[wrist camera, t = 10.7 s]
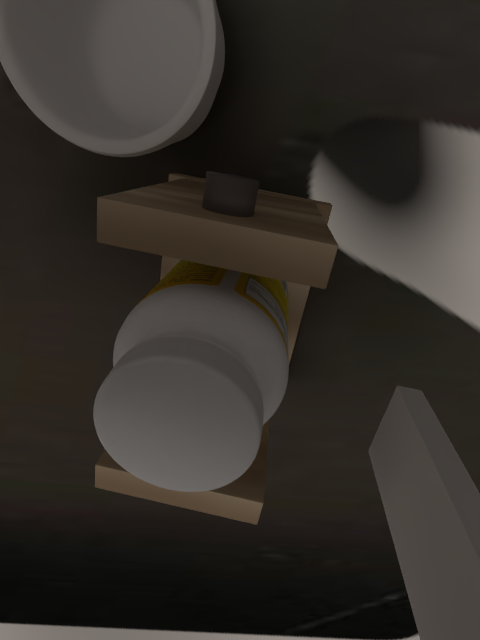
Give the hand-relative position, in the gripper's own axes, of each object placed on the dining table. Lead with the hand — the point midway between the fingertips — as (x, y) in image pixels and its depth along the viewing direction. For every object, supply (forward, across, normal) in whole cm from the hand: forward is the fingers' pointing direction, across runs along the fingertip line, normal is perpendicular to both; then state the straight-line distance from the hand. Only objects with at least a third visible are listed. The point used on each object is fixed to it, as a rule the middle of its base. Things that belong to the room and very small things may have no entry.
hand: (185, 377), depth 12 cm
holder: (+10, 0, 0) cm, 10 cm away
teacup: (+10, -6, +10) cm, 15 cm away
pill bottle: (+9, 0, 0) cm, 9 cm away
